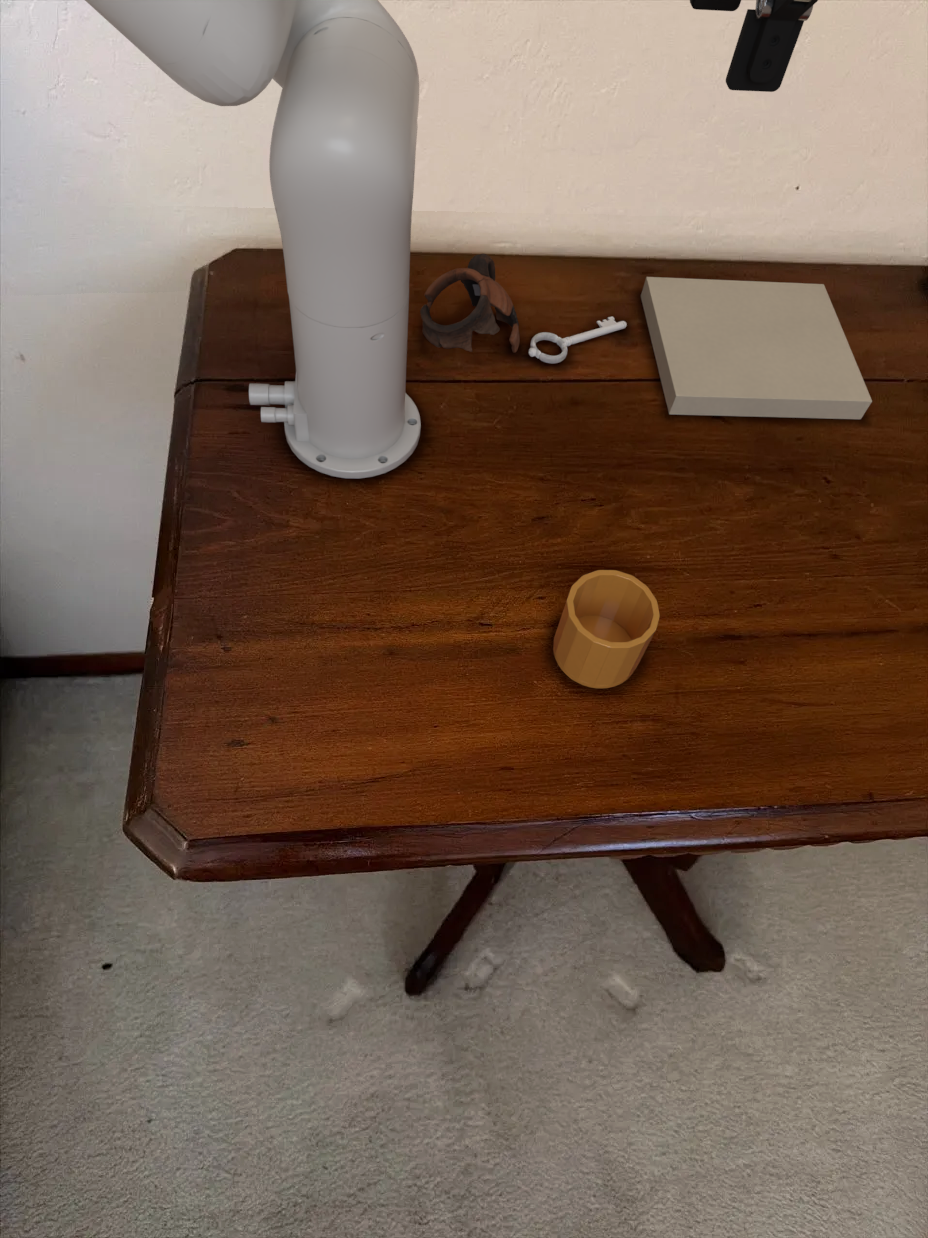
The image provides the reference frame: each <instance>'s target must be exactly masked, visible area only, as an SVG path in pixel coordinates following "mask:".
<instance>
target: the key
mask: <svg viewBox="0 0 928 1238" xmlns="http://www.w3.org/2000/svg"><path fill="white" fill-rule="evenodd" d="M596 324H597V325H598V328H595V329H590V330H587V331H584V332H581V333H577V334H572V335H571V336H566V337H563V338H562V337H561V336H558V335H557V334H555V333H553V332H548V331H543V332H542V331H541V332H538V333H536V334H535V335H533V337H531V340H530V342H529V343H530V345H529V349H528V352H527V353H528V355H529V357H530V358H534V357H535V358H537V359H539V360H540V361H541V362H543V363H546V364H552V365H553V364H558V363H562V362H563V361H564V360H565V359H566V358H567V356H568V347H570V346H571V345H576V344H578V343H582V342H585V341H588V340H592V339H595V338H598V337H600V336H605V335H608V334H611V333H614V332H617V331H620V330H624V329H626V327H627V326H628V325H627V324H628V323H627V322H626V321H625V320H619V321H616V320H615V317H614V316H608V317H607V318H606V319H602V321H601V320H597V321H596ZM541 341H549V342H551V343H555V344H556V345H557V346H558V347H560V350H561V353H559V354H555V355H552V354H551V355H550V354H547V353H544V352H542V351H541V350H539V348H538V347H537V343H538V342H541Z"/></svg>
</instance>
